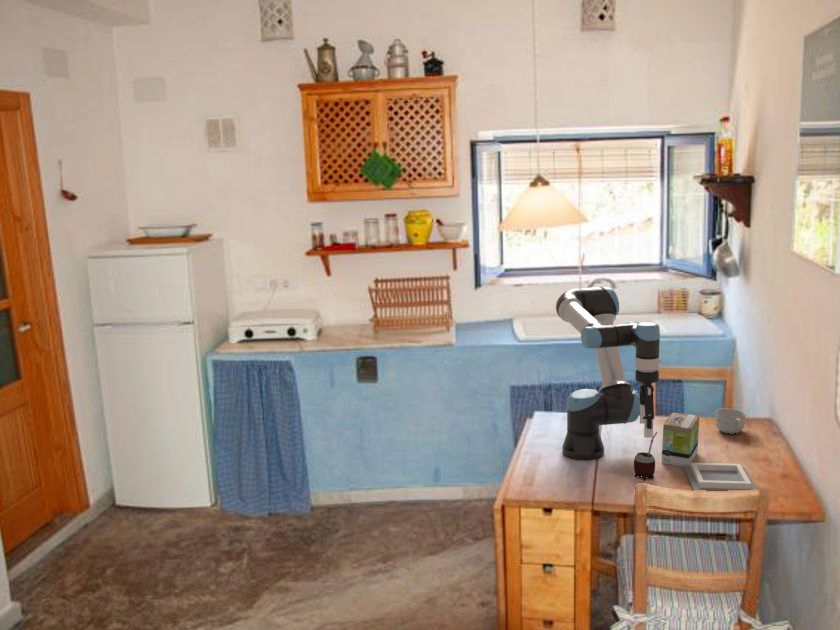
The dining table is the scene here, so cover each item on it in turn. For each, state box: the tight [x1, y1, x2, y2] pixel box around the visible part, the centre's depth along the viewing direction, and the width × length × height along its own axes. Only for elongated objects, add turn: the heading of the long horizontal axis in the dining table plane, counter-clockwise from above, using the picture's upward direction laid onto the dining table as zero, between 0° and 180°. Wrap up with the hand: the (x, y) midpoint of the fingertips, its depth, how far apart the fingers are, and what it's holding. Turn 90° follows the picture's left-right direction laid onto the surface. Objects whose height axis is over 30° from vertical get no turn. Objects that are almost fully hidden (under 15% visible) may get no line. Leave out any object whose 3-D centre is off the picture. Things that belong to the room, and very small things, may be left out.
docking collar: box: [683, 462, 758, 491], centre depth 262 cm, size 20×20×3 cm
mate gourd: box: [633, 431, 658, 482], centre depth 267 cm, size 8×8×15 cm
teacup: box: [715, 407, 747, 435], centre depth 304 cm, size 14×11×8 cm
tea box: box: [661, 412, 700, 468], centre depth 281 cm, size 15×10×15 cm, turn 151°
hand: (646, 430), depth 265 cm, fingers open, 13 cm apart
